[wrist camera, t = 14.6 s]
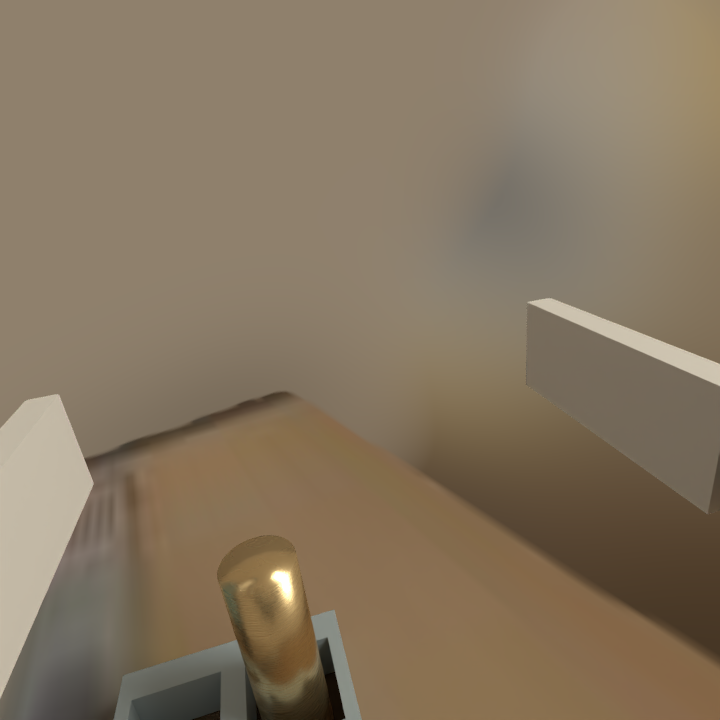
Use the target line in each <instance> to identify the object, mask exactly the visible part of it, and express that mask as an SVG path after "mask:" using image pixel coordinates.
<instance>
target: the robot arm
mask: <svg viewBox="0 0 720 720" xmlns="http://www.w3.org/2000/svg"><path fill="white" fill-rule="evenodd" d="M526 358H527V360H526V385H527V386H529V387H530V388H532V389H533V390H534V391H536V392H537V393H539V394H540V395H541V396H543V397H544V398H546V399H547V400H548V401H550V402H551V403H553V404H554V405H556V406H557V407H558V408H560V409H561V410H563V411H564V412H565V413H567V414H568V415H569V416H571V417H572V418H574V419H575V420H576V421H578V422H579V423H581V424H582V425H583V426H585V427H586V428H588V429H589V430H591V431H592V432H593V433H595V434H596V435H597V436H599V437H600V438H602V439H603V440H605V441H606V442H607V443H609V444H610V445H611V446H613V447H614V448H616V449H617V450H618V451H620V452H621V453H623V454H624V455H626V456H627V457H628V458H630V459H631V460H632V461H634V462H635V463H637V464H638V465H640V466H641V467H642V468H644V469H645V470H647V471H648V472H649V473H651V474H652V475H654V476H655V477H656V478H658V479H659V480H661V481H662V482H664V483H665V484H666V485H668V486H669V487H670V488H672V489H673V490H675V491H676V492H677V493H679V494H680V495H682V496H683V497H684V498H686V499H687V500H689V501H690V502H691V503H693V504H694V505H696V506H697V507H698V508H700V509H701V510H703V511H704V512H706V513H707V514H710V513H713V512H716V511H720V364H718V363H716V362H713V361H711V360H708V359H705V358H703V357H700V356H698V355H695V354H693V353H690V352H687V351H685V350H682V349H680V348H677V347H675V346H672V345H670V344H667V343H664V342H662V341H659V340H657V339H654V338H652V337H649V336H646V335H644V334H641V333H639V332H636V331H634V330H631V329H629V328H626V327H623V326H620V325H618V324H616V323H613V322H611V321H608V320H605V319H603V318H600V317H598V316H595V315H593V314H590V313H587V312H585V311H582V310H579V309H577V308H575V307H572V306H570V305H567V304H564V303H562V302H559V301H557V300H554V299H551V298H547V299H541V300H537V301H531V302H527V357H526ZM93 484H94V483H93V481H92V478H91V475H90V473H89V470H88V468H87V465H86V463H85V460H84V458H83V455H82V452H81V450H80V447H79V445H78V442H77V440H76V437H75V435H74V432H73V429H72V427H71V424H70V422H69V419H68V417H67V414H66V412H65V409H64V406H63V404H62V402H61V399H60V396H59V394H56V395H50V396H45V397H40V398H35V399H31V400H26V401H25V402H24V403H23V404H22V405H21V406H20V407H19V408H18V409H17V411H16V412H15V413H14V414H13V415H12V416H11V417H10V418H9V420H8V421H7V422H6V423H5V424H4V425H3V426H2V427H1V429H0V698H1V695H2V693H3V691H4V689H5V686H6V684H7V682H8V679H9V677H10V675H11V672H12V670H13V668H14V666H15V663H16V661H17V659H18V656H19V654H20V652H21V650H22V647H23V645H24V643H25V640H26V638H27V636H28V633H29V631H30V629H31V627H32V624H33V622H34V620H35V617H36V615H37V613H38V610H39V608H40V606H41V604H42V601H43V599H44V597H45V594H46V592H47V590H48V587H49V585H50V583H51V581H52V578H53V576H54V574H55V571H56V569H57V567H58V565H59V562H60V560H61V558H62V555H63V553H64V551H65V548H66V546H67V544H68V542H69V539H70V537H71V535H72V532H73V530H74V528H75V525H76V523H77V521H78V519H79V516H80V514H81V512H82V509H83V507H84V505H85V503H86V500H87V498H88V496H89V493H90V491H91V489H92V486H93Z"/></svg>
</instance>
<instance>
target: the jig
mask: <svg viewBox="0 0 720 720" xmlns="http://www.w3.org/2000/svg"><path fill="white" fill-rule="evenodd" d="M311 620H312V624H313V628H314V633H315V637H316V641H317V646H318V650H319V654H320V658H321V663H322V667H323V671H324V675H326V674H329V673H332V672H335V673H336V677H337V682H338V687H339V691H340V696H341V700H342V705H343V709H344V714H345V718H346V719H343V720H362V719H361V715H360V711H359V707H358V703H357V699H356V695H355V691H354V687H353V683H352V679H351V675H350V671H349V667H348V663H347V659H346V655H345V651H344V647H343V643H342V639H341V635H340V631H339V627H338V623H337V619H336V615H335V611H334V610H331V611H328V612H325V613H321V614H318V615H315V616H312V617H311ZM219 710H220V720H257V714H256V700H255V697H254V694H253V690H252V687H251V684H250V681H249V678H248V674H247V671H246V668H245V665H244V662H243V658H242V655H241V652H240V649H239V646H238V642H237V640H235V641H232V642H229V643H226V644H222V645H219V646H216V647H213V648H210V649H206V650H203V651H200V652H197V653H194V654H190V655H187V656H184V657H181V658H178V659H174V660H171V661H168V662H165V663H162V664H158V665H155V666H152V667H149V668H146V669H142V670H139V671H136V672H133V673H130V674H126V675H123V679H122V683H121V688H120V693H119V697H118V702H117V707H116V711H115V716H114V720H192V719H195V718H198V717H201V716H204V715H207V714H210V713H213V712H216V711H219Z"/></svg>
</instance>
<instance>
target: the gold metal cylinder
mask: <svg viewBox="0 0 720 720" xmlns="http://www.w3.org/2000/svg"><path fill="white" fill-rule="evenodd" d="M217 578H218V582H219V585H220V588H221V591H222V595H223V598H224V601H225V604H226V607H227V611H228V614H229V617H230V620H231V623H232V626H233V630H234V633H235V636H236V639H237V642H238V646H239V649H240V652H241V655H242V658H243V662H244V665H245V668H246V671H247V674H248V678H249V681H250V684H251V687H252V690H253V694H254V697H255V700H256V703H257V706H258V710H259V713H260V716H261V719H262V720H334V715H333V710H332V706H331V702H330V697H329V693H328V689H327V684H326V680H325V676H324V671H323V667H322V663H321V658H320V654H319V650H318V646H317V641H316V637H315V633H314V628H313V624H312V620H311V615H310V611H309V607H308V602H307V598H306V594H305V589H304V585H303V581H302V576H301V572H300V568H299V564H298V559H297V555H296V551H295V548H294V546H293V545H292V543H291V542H289V541H288V540H287V539H285V538H282V537H279V536H271V535H268V536H259V537H255V538H252V539H249V540H247V541H245V542H243V543H241V544H239V545H237V546H236V547H235V548H233V549H232V550H231V551H230V552H229V553H228V554H227V555H226V556H225V557H224V558H223V560H222V562H221V563H220V565H219V568H218V573H217Z"/></svg>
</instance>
